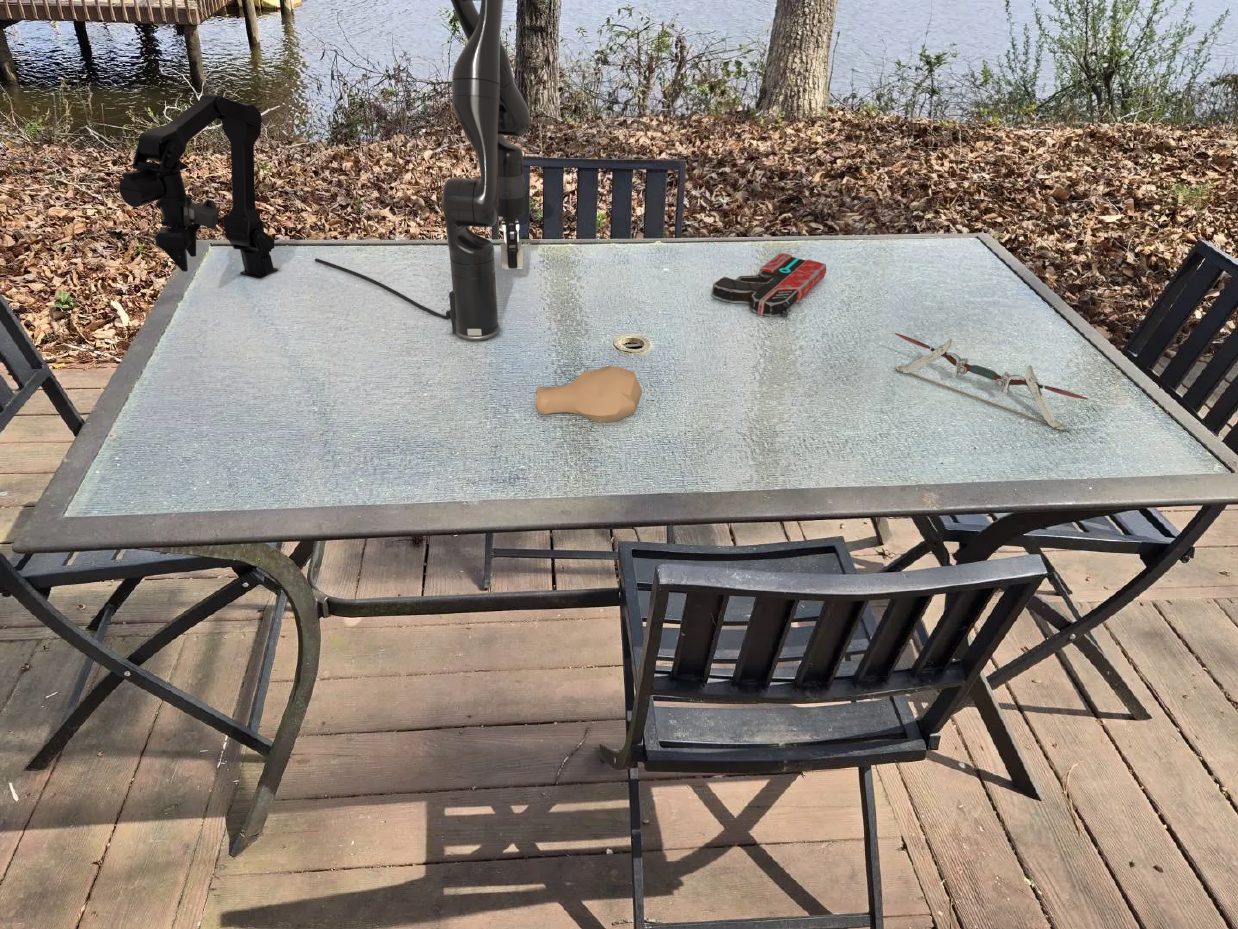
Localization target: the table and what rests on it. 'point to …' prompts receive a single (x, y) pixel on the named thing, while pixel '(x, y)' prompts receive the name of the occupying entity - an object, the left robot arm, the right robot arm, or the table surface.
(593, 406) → the squash
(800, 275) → the gun
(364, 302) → the table surface
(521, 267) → the beige cube
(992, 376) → the bow
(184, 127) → the left robot arm
